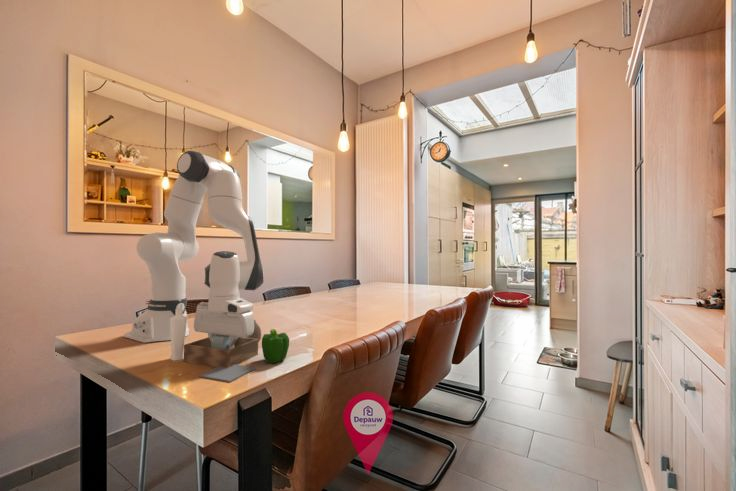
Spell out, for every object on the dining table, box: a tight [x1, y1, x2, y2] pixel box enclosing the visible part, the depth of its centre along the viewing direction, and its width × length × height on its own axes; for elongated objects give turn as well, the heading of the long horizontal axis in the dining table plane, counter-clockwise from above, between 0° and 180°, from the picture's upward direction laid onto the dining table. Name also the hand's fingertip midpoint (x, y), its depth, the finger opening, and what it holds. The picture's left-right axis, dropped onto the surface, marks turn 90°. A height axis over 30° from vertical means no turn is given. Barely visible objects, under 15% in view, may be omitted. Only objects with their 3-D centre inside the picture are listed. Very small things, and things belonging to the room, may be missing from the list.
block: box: [213, 335, 231, 350], centre depth 100 cm, size 4×4×7 cm
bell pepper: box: [261, 328, 290, 364], centre depth 99 cm, size 8×8×10 cm
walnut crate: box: [183, 334, 259, 368], centre depth 100 cm, size 16×14×5 cm
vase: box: [246, 319, 262, 343], centre depth 115 cm, size 7×7×9 cm
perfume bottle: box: [169, 309, 188, 362], centre depth 99 cm, size 5×4×15 cm
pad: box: [198, 364, 256, 383], centre depth 89 cm, size 10×10×1 cm
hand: (222, 348), depth 100 cm, fingers open, 4 cm apart
